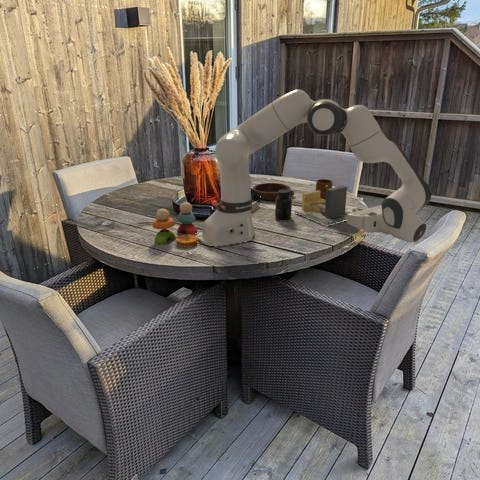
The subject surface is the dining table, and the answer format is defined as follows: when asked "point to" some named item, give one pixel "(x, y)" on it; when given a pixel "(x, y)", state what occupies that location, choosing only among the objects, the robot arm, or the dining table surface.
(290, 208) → the supplement bottle
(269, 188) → the dish
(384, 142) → the robot arm
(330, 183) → the mug
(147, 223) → the dining table surface
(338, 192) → the gray rectangular block
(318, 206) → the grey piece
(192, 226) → the wooden stacking toy
